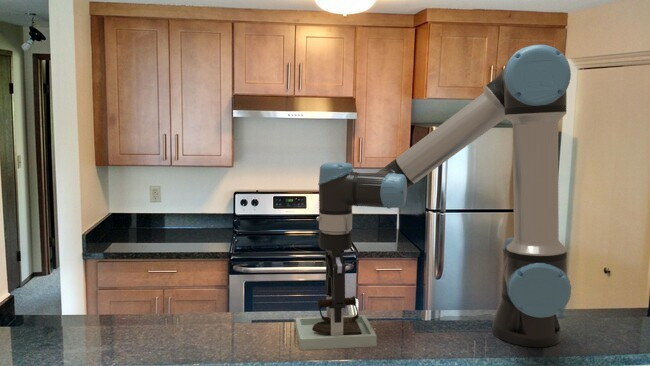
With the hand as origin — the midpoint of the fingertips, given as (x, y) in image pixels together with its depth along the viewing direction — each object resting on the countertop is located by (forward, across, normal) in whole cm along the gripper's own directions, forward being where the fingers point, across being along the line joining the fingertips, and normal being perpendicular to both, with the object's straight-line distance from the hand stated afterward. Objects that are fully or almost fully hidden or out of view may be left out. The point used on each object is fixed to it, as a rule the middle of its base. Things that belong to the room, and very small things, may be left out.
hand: (334, 328), depth 126 cm
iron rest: (+2, 0, 0) cm, 2 cm away
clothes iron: (+1, 0, 0) cm, 1 cm away
